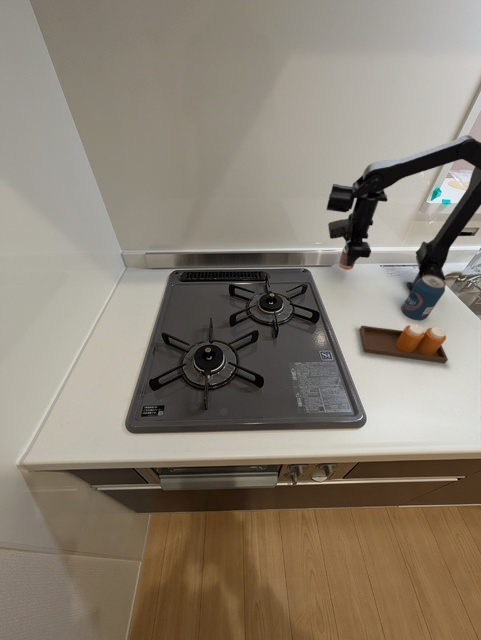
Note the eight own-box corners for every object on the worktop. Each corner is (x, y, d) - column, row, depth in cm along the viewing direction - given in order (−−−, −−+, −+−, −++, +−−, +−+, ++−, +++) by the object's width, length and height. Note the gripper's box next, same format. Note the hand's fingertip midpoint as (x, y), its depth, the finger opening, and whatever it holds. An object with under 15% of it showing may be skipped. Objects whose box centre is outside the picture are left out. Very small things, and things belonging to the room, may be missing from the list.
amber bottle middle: (394, 338, 73) (404, 321, 69) (411, 340, 73) (423, 323, 68) (397, 351, 70) (409, 334, 66) (416, 353, 70) (428, 336, 65)
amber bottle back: (413, 341, 73) (425, 323, 68) (431, 343, 72) (444, 326, 68) (418, 354, 70) (431, 337, 65) (437, 356, 69) (451, 339, 65)
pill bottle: (353, 271, 89) (361, 248, 83) (338, 269, 90) (345, 246, 84) (352, 263, 92) (360, 240, 86) (337, 261, 93) (344, 239, 87)
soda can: (395, 307, 83) (413, 274, 75) (416, 304, 84) (436, 272, 76) (409, 323, 78) (430, 290, 70) (431, 320, 79) (454, 287, 71)
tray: (359, 330, 76) (361, 325, 75) (433, 340, 74) (437, 334, 73) (363, 353, 70) (366, 348, 69) (443, 364, 68) (448, 359, 67)
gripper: (331, 199, 86) (320, 244, 97) (336, 226, 73) (323, 275, 84) (368, 202, 85) (353, 247, 96) (380, 230, 72) (361, 279, 83)
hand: (347, 261), depth 89 cm, fingers closed on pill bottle, 5 cm apart
